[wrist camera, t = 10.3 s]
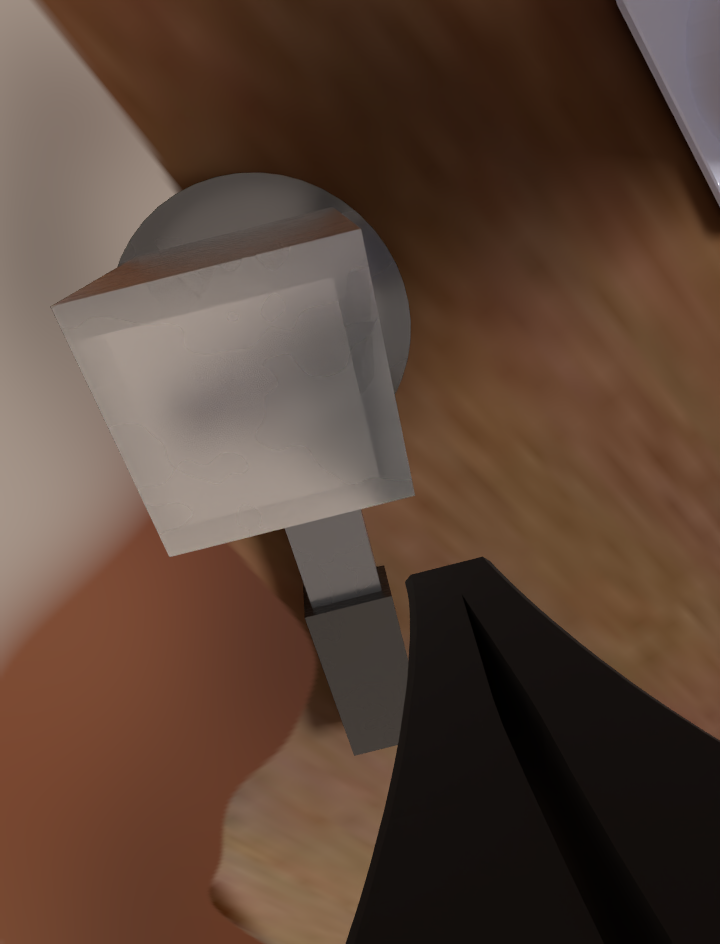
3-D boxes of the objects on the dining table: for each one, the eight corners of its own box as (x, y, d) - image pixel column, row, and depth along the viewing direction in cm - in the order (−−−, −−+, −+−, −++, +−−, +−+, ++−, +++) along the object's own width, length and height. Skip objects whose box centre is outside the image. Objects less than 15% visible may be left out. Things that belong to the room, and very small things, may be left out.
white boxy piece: (332, 206, 14) (361, 229, 9) (373, 392, 17) (415, 495, 11) (137, 255, 14) (50, 306, 9) (206, 434, 17) (169, 556, 11)
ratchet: (79, 213, 15) (-3, 230, 11) (368, 139, 15) (401, 127, 11) (298, 732, 26) (301, 847, 22) (470, 689, 26) (508, 795, 21)
